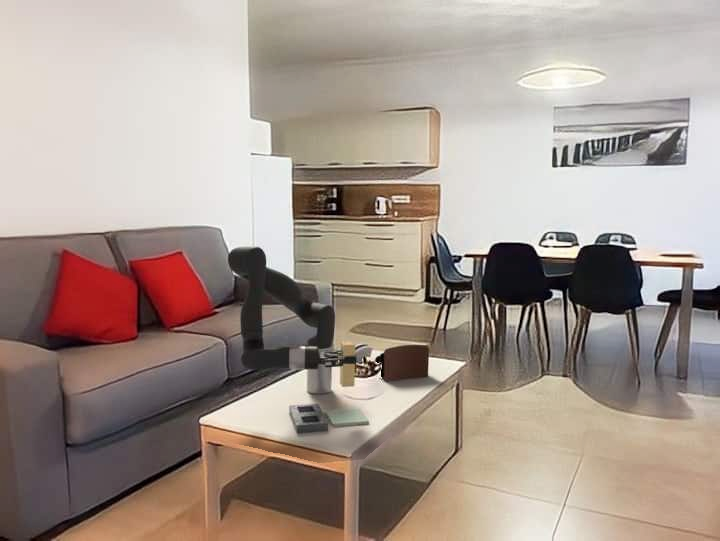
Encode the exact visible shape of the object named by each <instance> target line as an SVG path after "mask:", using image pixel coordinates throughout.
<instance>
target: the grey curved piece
mask: <svg viewBox="0 0 720 541" xmlns="http://www.w3.org/2000/svg"><path fill="white" fill-rule="evenodd" d="M372 352H373V347H372V346H370V345H369V344H367V343H364V342H363V343H358V344H355V353H356V358H357V363H361V362H362V358H363V356H366V357H370V358H371V356H372ZM361 364H362V363H361Z"/></svg>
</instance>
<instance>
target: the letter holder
mask: <svg viewBox="0 0 720 541" xmlns="http://www.w3.org/2000/svg"><path fill="white" fill-rule="evenodd" d="M429 360H430V347H429V346H428V345H425V344H405V345H399V346H393V347H388V348H385V349H384V352H381V353H380V354H379V355H377V356H376V357H375V359H374V361H375V362H377V363H379V362H382V369H381V377H382V379H383V380H384V381H385V382H391V381H393V382H394V381H402V380H411V379H421V378H422V379H423V378H428V377H429ZM375 362H374V363H375ZM382 379H381V380H382ZM383 380H382V381H383ZM384 381H383V382H384Z"/></svg>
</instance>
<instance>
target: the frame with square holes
mask: <svg viewBox="0 0 720 541" xmlns="http://www.w3.org/2000/svg"><path fill="white" fill-rule="evenodd" d="M288 408H289V409H288V412H289V416H290V418H291V421H292V424H293V427H294V429H295V433H296V434H302V433H303V434H304V433H315V432H316V431H319V432H329V422H328V419H327V417H326V416H325V414H324V412H323V410H322V408H321V406H320V404H319V403H308V404H294V405H289V406H288Z"/></svg>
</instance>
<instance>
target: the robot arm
mask: <svg viewBox="0 0 720 541" xmlns="http://www.w3.org/2000/svg"><path fill="white" fill-rule="evenodd" d="M227 263H228V266H229V268H230V269H231V271H232V272H233V273H234V274H235V275H237V276H238V277H240V278H243V279H244V280H247V281H248V289H247V293H246V297H245V298H244V301H243V304H242V307H241V310H240V316H239V319H240V320H239V321H240V335H241V338H242V349H243V350H242V352H243V353H242V354H241V357H240V362H241V365H242V366H243V367H244V368H245V369H247V370H249V371H262V370H263V371H264V370H272V369H282V370H283V369H288V370H289V369H290V370H291V369H292V370H306V391H307V392H308V393H310V394H316V395H323V394H328V393H331V392H332V383H333V382H332V376H333V373H332V372H333V370H332V368H337V367H340V366H343V365H345V364H356V363H357V358H356V353H355V357H344V356H341V349H333V341H334V337H335V326H336V325H335V324H336V313H335V309H334V307H333V306H332V305H330V304H326V303H320V302H315V301H312V300H311V299H309V298H307V297H306V296H304V294H303V291H302V287H301V286H300V285H299V283H297V282H296V280H294V279H292V278H291V277H290V276H289V275H287V274H286V273H285V274H284V273H282V272H281V271H278V270H276V269H273V268H270V267H267V257H266V252H265V251H264V250H263V249H262V247H260V246H254V245H253V246H239V247H235V248H232V250H231V251H230V252H229V253H228V256H227ZM264 293H265V294H267V295H268V296H269V297H271V298H272V299H273V300H275V301H276V302H277V303H279V304H280V305H282V306H284V307H285V308H287V310H290V311H291V312H292V313H294V314H295V315H296V316H297V317H298V318H299V319H300V321H302V322H304V324H306V325H307V326H308V327H311V328H316V335H311V336H310V337H308V338H307V343H306V344H307V345H304V346H301V345H300V346H299V345H298V346H278V347H277V346H276V347H273V348H265V345H264V338H263V334H264V328H263V327H264V325H263V324H264V323H263V297H264Z"/></svg>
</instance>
